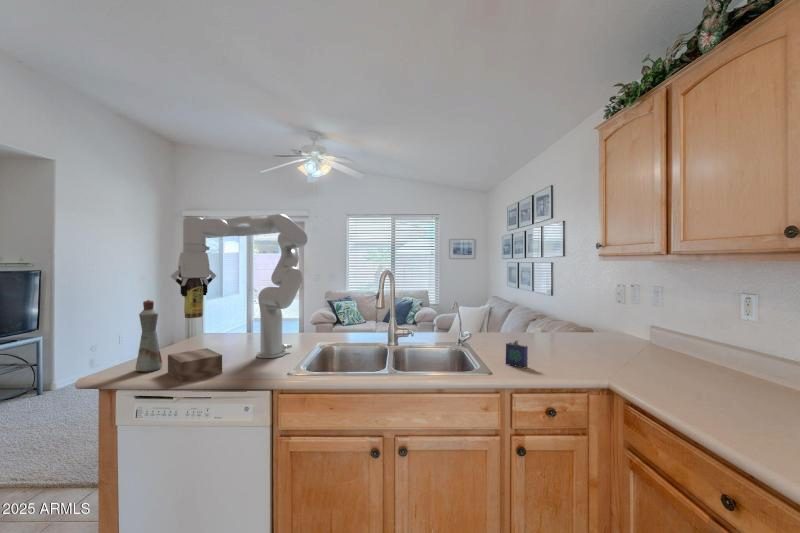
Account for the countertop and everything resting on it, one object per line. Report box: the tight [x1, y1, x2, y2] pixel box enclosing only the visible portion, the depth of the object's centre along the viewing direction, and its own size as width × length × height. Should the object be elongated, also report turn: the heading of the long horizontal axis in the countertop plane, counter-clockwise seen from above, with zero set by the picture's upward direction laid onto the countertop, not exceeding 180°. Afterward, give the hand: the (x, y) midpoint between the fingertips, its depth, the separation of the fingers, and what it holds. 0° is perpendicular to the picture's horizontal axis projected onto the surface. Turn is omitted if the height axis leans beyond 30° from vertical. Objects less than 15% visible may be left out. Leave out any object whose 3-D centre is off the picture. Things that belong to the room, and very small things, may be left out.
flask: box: [505, 339, 529, 368], centre depth 146 cm, size 9×3×11 cm, turn 50°
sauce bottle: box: [183, 278, 204, 319], centre depth 134 cm, size 7×6×20 cm
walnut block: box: [167, 347, 223, 383], centre depth 135 cm, size 14×16×7 cm
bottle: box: [135, 299, 163, 373], centre depth 139 cm, size 9×9×28 cm
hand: (194, 295), depth 135 cm, fingers closed on sauce bottle, 6 cm apart
